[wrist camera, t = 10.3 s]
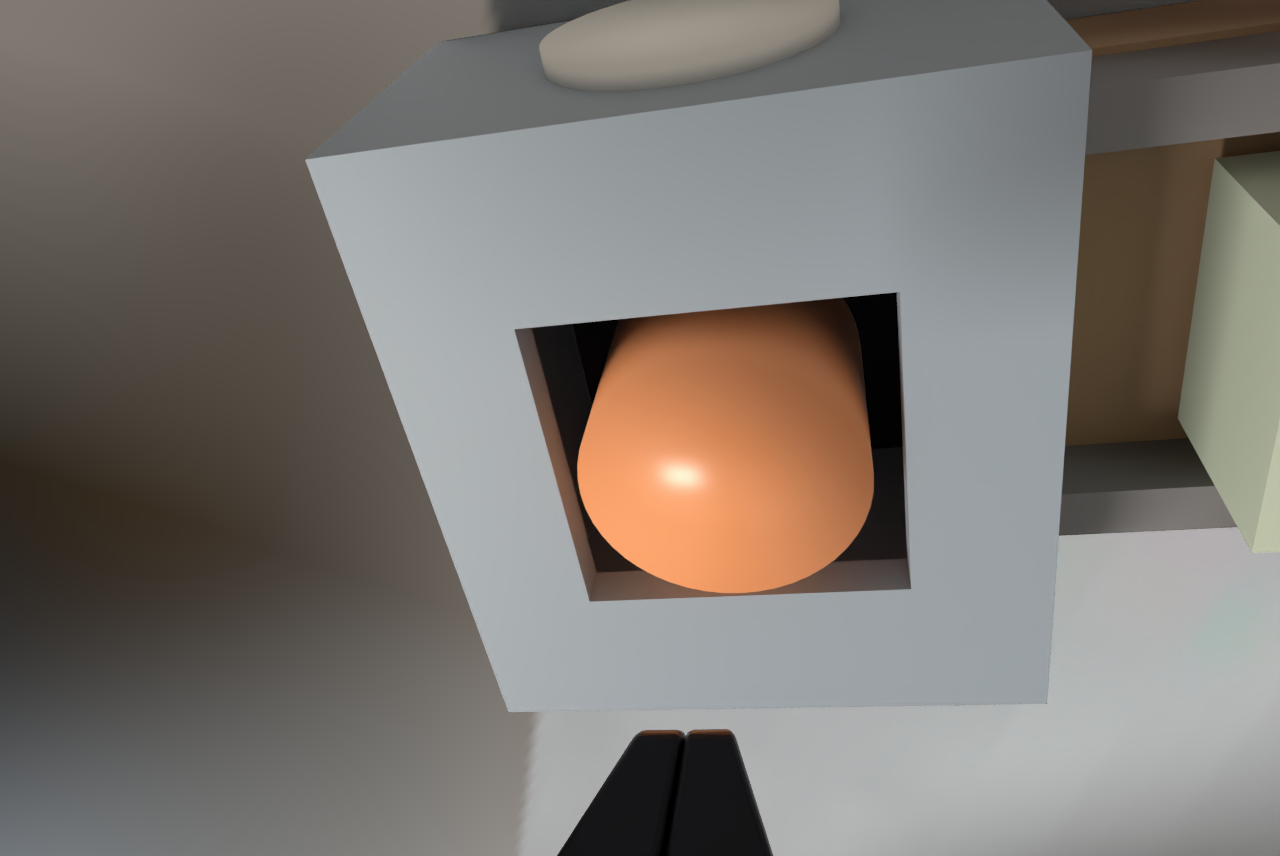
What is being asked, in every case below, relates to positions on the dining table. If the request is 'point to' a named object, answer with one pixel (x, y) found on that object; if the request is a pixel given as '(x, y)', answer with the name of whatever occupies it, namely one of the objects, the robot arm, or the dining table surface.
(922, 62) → the grey block with hole
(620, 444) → the rounded orange peg
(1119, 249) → the rail
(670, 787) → the robot arm
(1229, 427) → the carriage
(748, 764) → the dining table surface
